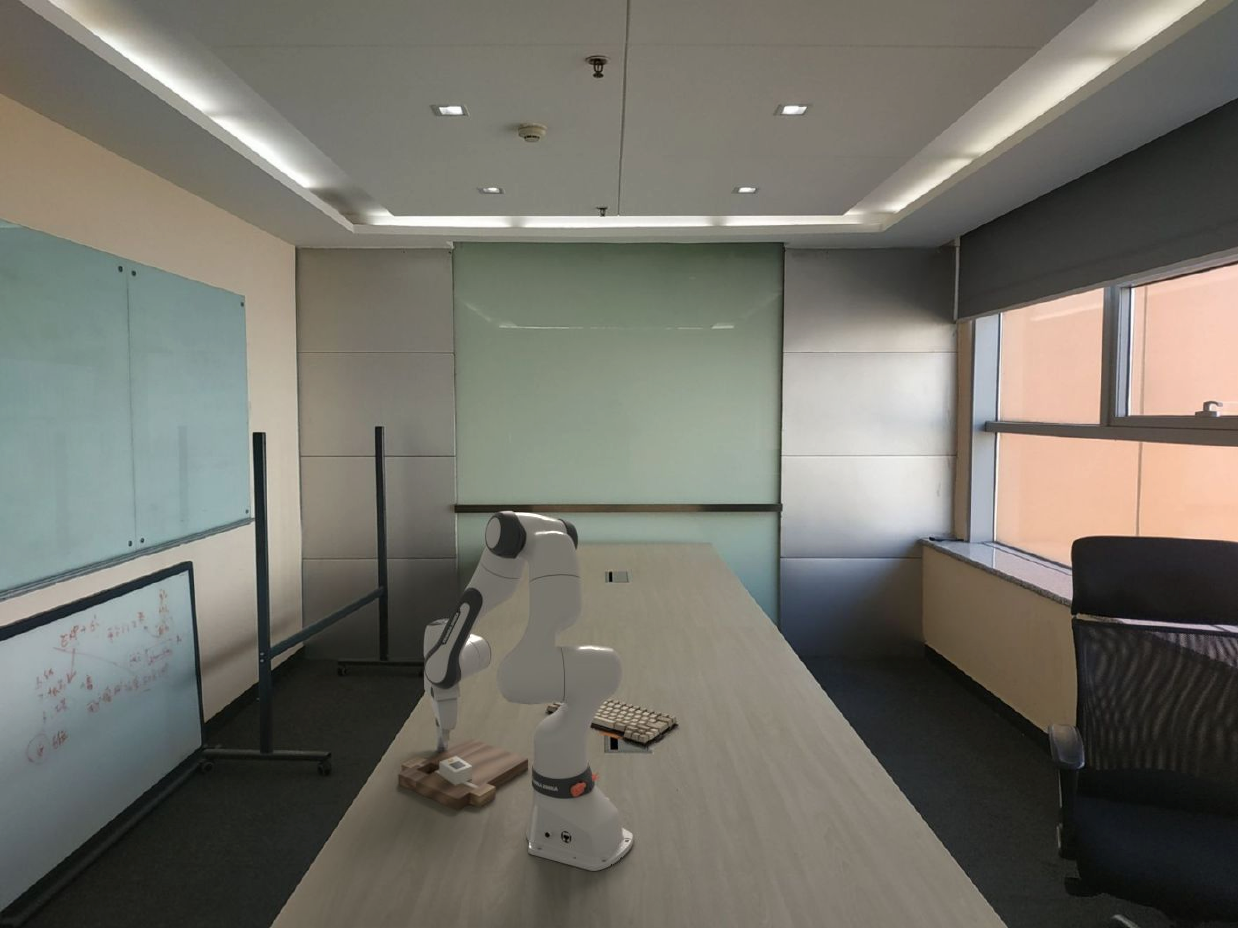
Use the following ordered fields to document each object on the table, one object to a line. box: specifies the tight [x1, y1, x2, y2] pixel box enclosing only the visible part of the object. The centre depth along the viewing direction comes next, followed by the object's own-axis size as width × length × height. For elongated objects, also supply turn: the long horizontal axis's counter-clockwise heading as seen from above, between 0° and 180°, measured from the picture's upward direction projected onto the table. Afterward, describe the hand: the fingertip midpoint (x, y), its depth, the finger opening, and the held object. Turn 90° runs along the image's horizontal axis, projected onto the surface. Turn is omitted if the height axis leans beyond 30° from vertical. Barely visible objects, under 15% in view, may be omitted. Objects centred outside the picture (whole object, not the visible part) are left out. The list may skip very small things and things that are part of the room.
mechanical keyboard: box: [545, 698, 679, 748], centre depth 209 cm, size 38×19×3 cm, turn 56°
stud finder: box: [439, 756, 472, 785], centre depth 170 cm, size 7×4×3 cm, turn 44°
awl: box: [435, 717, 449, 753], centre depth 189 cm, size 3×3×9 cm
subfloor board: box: [397, 738, 529, 811], centre depth 175 cm, size 26×23×2 cm
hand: (442, 733), depth 189 cm, fingers open, 7 cm apart
